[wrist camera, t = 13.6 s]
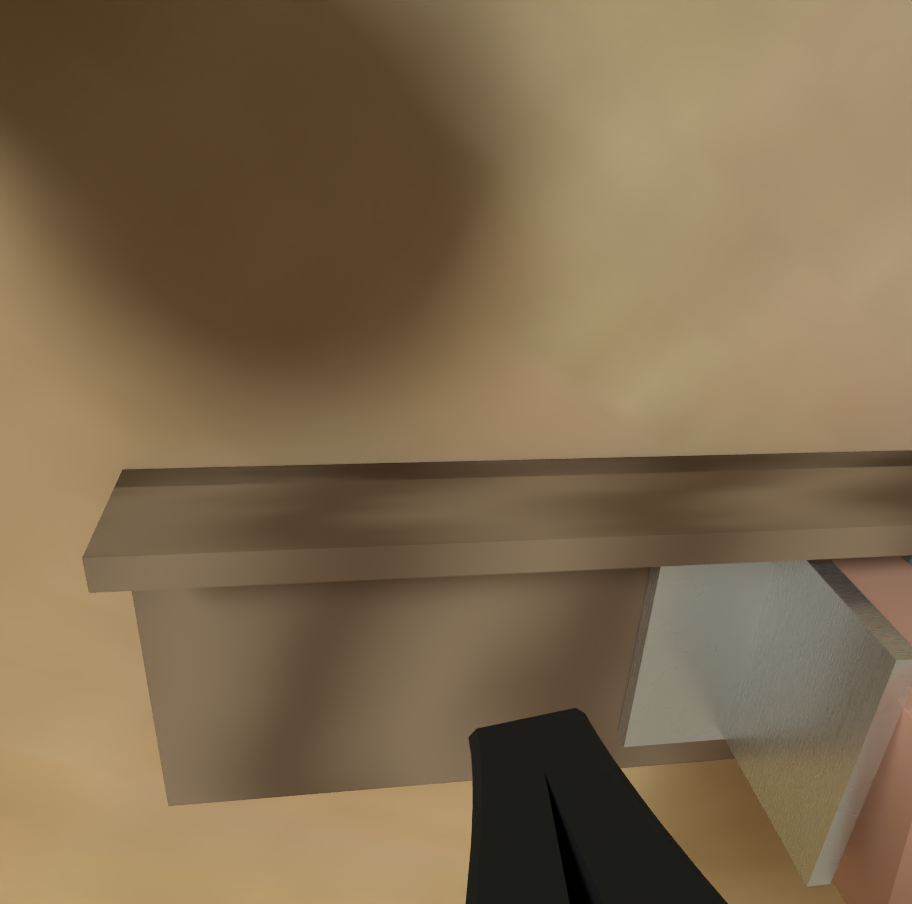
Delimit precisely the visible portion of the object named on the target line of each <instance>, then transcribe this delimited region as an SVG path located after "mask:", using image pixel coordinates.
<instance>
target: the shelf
mask: <svg viewBox="0 0 912 904" xmlns="http://www.w3.org/2000/svg"><path fill="white" fill-rule="evenodd" d="M883 556H901V557H902V558H903V559H904V560H905V561H906V562H908V563H909V562H910V559H911V556H912V451H872V452H830V453H789V454H748V455H707V456H665V457H624V458H583V459H542V460H500V461H459V462H418V463H377V464H335V465H294V466H253V467H212V468H170V469H129V470H122V472H121V474H120V476H119V479H118V481H117V483H116V485H115V487H114V490H113V492H112V494H111V496H110V498H109V500H108V503H107V505H106V507H105V509H104V511H103V514H102V516H101V518H100V520H99V522H98V525H97V527H96V529H95V531H94V533H93V535H92V538H91V540H90V542H89V544H88V546H87V549H86V551H85V553H84V555H83V557H82V560H83V565H84V570H85V575H86V580H87V585H88V590H89V593H93V592H115V591H132V595H133V600H134V606H135V612H136V618H137V624H138V630H139V636H140V642H141V648H142V653H143V659H144V665H145V671H146V677H147V683H148V689H149V695H150V700H151V706H152V712H153V718H154V724H155V730H156V736H157V742H158V748H159V753H160V759H161V765H162V771H163V777H164V783H165V789H166V795H167V800H168V806H175V805H187V804H199V803H211V802H223V801H235V800H247V799H259V798H271V797H282V796H294V795H306V794H318V793H330V792H342V791H354V790H366V789H378V788H390V787H402V786H413V785H425V784H437V783H449V782H461V781H473V779H472V762H471V752H470V746H469V739H468V737H469V736H470V735H471V734H472V733H473V732H474V731H475V730H476V729H477V728H481V727H486V726H491V725H496V724H500V723H505V722H510V721H515V720H519V719H524V718H529V717H534V716H538V715H543V714H548V713H553V712H557V711H562V710H567V709H572V708H577V709H579V710H581V711H582V712H584V713H585V714H586V716H587V717H588V719H589V721H590V723H591V724H592V726H593V728H594V729H595V731H596V733H597V734H598V736H599V737H600V739H601V740H602V742H603V744H604V745H605V747H606V748H607V750H608V751H609V753H610V754H611V756H612V757H613V759H614V760H615V762H616V763H617V764H618V766H619V767H620V768H628V767H640V766H651V765H663V764H675V763H687V762H699V761H711V760H723V759H735V757H734V755H733V753H732V752H731V750H730V748H729V746H728V744H727V743H726V741H725V739H720V740H707V741H695V742H682V743H670V744H657V745H645V746H632V747H624V746H623V744H622V741H621V739H620V736H619V734H618V732H619V727H620V722H621V717H622V712H623V707H624V702H625V697H626V692H627V687H628V681H629V676H630V671H631V666H632V661H633V656H634V651H635V646H636V641H637V636H638V631H639V626H640V621H641V616H642V610H643V605H644V600H645V595H646V590H647V585H648V580H649V575H650V570H651V567H664V566H686V565H707V564H729V563H751V562H773V561H795V560H817V559H839V558H861V557H883Z"/></svg>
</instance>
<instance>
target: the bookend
mask: <svg viewBox="0 0 912 904" xmlns="http://www.w3.org/2000/svg"><path fill="white" fill-rule="evenodd" d="M911 688H912V645H911V644H910V643H909V642H908V641H907V640H906V639H905V638H904V637H903V636H902V635H901V634H900V633H899V632H898V630H897V629H896V628H895V627H894V626H893V625H892V624H891V623H890V622H889V621H888V620H887V619H886V618H885V617H884V616H883V615H882V614H881V612H880V611H879V610H878V609H877V608H876V607H875V606H874V605H873V604H872V603H871V602H870V601H869V600H868V599H867V598H866V597H865V596H864V594H863V593H862V592H861V591H860V590H859V589H858V588H857V587H856V586H855V585H854V584H853V583H852V582H851V581H850V580H849V579H848V578H847V576H846V575H845V574H844V573H843V572H842V571H841V570H840V569H839V568H838V567H837V566H836V565H835V564H834V563H833V562H832V561H831V560H830V559H817V560H795V561H773V562H751V563H729V564H707V565H686V566H664V567H651V570H650V575H649V580H648V585H647V590H646V595H645V600H644V605H643V610H642V616H641V621H640V626H639V631H638V636H637V641H636V646H635V651H634V656H633V661H632V666H631V671H630V676H629V681H628V687H627V692H626V697H625V702H624V707H623V712H622V717H621V722H620V727H619V732H618V734H619V736H620V739H621V741H622V744H623V746H624V747H632V746H645V745H657V744H670V743H682V742H695V741H707V740H720V739H725V741H726V743H727V744H728V746H729V748H730V750H731V752H732V753H733V755H734V757H735V759H736V761H737V762H738V764H739V766H740V768H741V770H742V771H743V773H744V775H745V777H746V779H747V780H748V782H749V784H750V786H751V787H752V789H753V791H754V793H755V795H756V796H757V798H758V800H759V802H760V804H761V805H762V807H763V809H764V811H765V813H766V814H767V816H768V818H769V820H770V821H771V823H772V825H773V827H774V829H775V830H776V832H777V834H778V836H779V838H780V839H781V841H782V843H783V845H784V847H785V848H786V850H787V852H788V854H789V856H790V857H791V859H792V861H793V863H794V864H795V866H796V868H797V870H798V872H799V873H800V875H801V877H802V879H803V881H804V882H805V884H806V886H807V887H809V886H818V885H827V884H831V881H832V879H833V876H834V874H835V871H836V869H837V867H838V864H839V862H840V859H841V857H842V855H843V852H844V850H845V847H846V845H847V843H848V840H849V838H850V835H851V833H852V831H853V828H854V826H855V823H856V821H857V819H858V816H859V814H860V811H861V809H862V806H863V804H864V802H865V799H866V797H867V794H868V792H869V790H870V787H871V785H872V782H873V780H874V778H875V775H876V773H877V770H878V768H879V766H880V763H881V761H882V758H883V756H884V753H885V751H886V749H887V746H888V744H889V741H890V739H891V737H892V734H893V732H894V729H895V727H896V725H897V722H898V720H899V717H900V715H901V713H902V710H903V708H904V705H905V703H906V701H907V698H908V696H909V693H910V691H911Z"/></svg>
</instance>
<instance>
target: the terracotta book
mask: <svg viewBox="0 0 912 904" xmlns="http://www.w3.org/2000/svg"><path fill="white" fill-rule="evenodd" d="M830 560H831V561H832V562H833V563H834V564H835V565H836V566H837V567H838V568H839V569H840V570H841V571H842V572H843V573H844V574H845V575H846V576H847V578H848V579H849V580H850V581H851V582H852V583H853V584H854V585H855V586H856V587H857V588H858V589H859V590H860V591H861V592H862V593H863V594H864V596H865V597H866V598H867V599H868V600H869V601H870V602H871V603H872V604H873V605H874V606H875V607H876V608H877V609H878V610H879V611H880V612H881V614H882V615H883V616H884V617H885V618H886V619H887V620H888V621H889V622H890V623H891V624H892V625H893V626H894V627H895V628H896V629H897V630H898V632H899V633H900V634H901V635H902V636H903V637H904V638H905V639H906V640H907V641H908V642H909V643H910V644H911V645H912V566H911V565H910V564H909V563H908V562H906V561H905V560H904V559H903V558H902V557H901V556H883V557H861V558H839V559H830ZM832 880H833V882H834V883H835V885H836V887H837V888H838V890H839V892H840V894H841V895H842V897H843V899H844V900H845V902H846V904H912V688H911V691H910V693H909V696H908V698H907V701H906V703H905V705H904V708H903V710H902V713H901V715H900V717H899V720H898V722H897V725H896V727H895V729H894V732H893V734H892V737H891V739H890V741H889V744H888V746H887V749H886V751H885V753H884V756H883V758H882V761H881V763H880V766H879V768H878V770H877V773H876V775H875V778H874V780H873V782H872V785H871V787H870V790H869V792H868V794H867V797H866V799H865V802H864V804H863V806H862V809H861V811H860V814H859V816H858V819H857V821H856V823H855V826H854V828H853V831H852V833H851V835H850V838H849V840H848V843H847V845H846V847H845V850H844V852H843V855H842V857H841V859H840V862H839V864H838V867H837V869H836V871H835V874H834V876H833V879H832Z"/></svg>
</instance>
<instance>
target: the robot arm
mask: <svg viewBox="0 0 912 904" xmlns="http://www.w3.org/2000/svg"><path fill="white" fill-rule="evenodd" d="M468 739H469V746H470V752H471V762H472V779H473V811H472V836H471V851H470V862H469V873H468V884H467V895H466V904H728V903H727V902H726V901H725V900H724V899H723V897H722V896H721V895H720V894H719V893H718V892H717V891H716V889H715V888H714V887H713V886H712V885H711V884H710V882H709V881H708V880H707V879H706V878H705V877H704V875H703V874H702V873H701V872H700V871H699V869H698V868H697V867H696V866H695V864H694V863H693V862H692V861H691V860H690V858H689V857H688V856H687V855H686V853H685V852H684V851H683V850H682V849H681V847H680V846H679V845H678V844H677V842H676V841H675V840H674V839H673V837H672V836H671V835H670V834H669V833H668V831H667V830H666V829H665V828H664V826H663V825H662V824H661V823H660V821H659V820H658V819H657V817H656V816H655V815H654V814H653V812H652V811H651V810H650V808H649V807H648V806H647V804H646V803H645V802H644V800H643V799H642V798H641V796H640V795H639V794H638V792H637V791H636V790H635V788H634V787H633V785H632V784H631V783H630V781H629V780H628V779H627V777H626V776H625V774H624V773H623V772H622V770H621V769H620V767H619V766H618V764H617V763H616V762H615V760H614V759H613V757H612V756H611V754H610V753H609V751H608V750H607V748H606V747H605V745H604V744H603V742H602V740H601V739H600V737H599V736H598V734H597V733H596V731H595V729H594V728H593V726H592V724H591V723H590V721H589V719H588V717H587V716H586V714H585V713H584V712H582V711H581V710H579V709H577V708H572V709H567V710H562V711H557V712H553V713H548V714H543V715H538V716H534V717H529V718H524V719H519V720H515V721H510V722H505V723H500V724H496V725H491V726H486V727H481V728H477V729H476V730H475V731H474V732H473V733H472V734H471V735H470V736H469V737H468Z"/></svg>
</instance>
